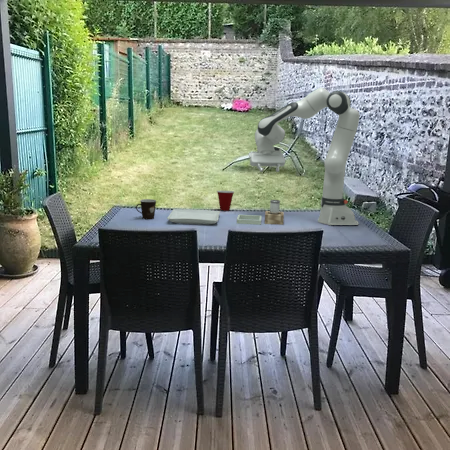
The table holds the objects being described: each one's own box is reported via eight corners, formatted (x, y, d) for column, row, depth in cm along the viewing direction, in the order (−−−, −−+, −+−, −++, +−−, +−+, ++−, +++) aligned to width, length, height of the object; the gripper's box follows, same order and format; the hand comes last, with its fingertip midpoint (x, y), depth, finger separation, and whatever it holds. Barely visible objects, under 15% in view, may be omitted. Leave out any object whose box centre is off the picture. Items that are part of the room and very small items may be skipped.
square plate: (217, 227, 269) (218, 219, 268) (166, 224, 270) (166, 217, 269) (220, 216, 296) (220, 209, 295) (173, 214, 296) (173, 208, 295)
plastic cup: (234, 208, 317) (235, 189, 315) (232, 212, 307) (233, 192, 304) (217, 207, 318) (217, 188, 316) (215, 211, 308) (215, 191, 305)
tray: (261, 221, 284) (261, 215, 284) (260, 226, 272) (261, 220, 271) (238, 220, 285) (238, 214, 285) (236, 225, 273) (236, 219, 272)
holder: (282, 222, 283) (283, 211, 282) (283, 226, 274) (283, 215, 272) (264, 221, 284) (265, 210, 283) (264, 225, 275) (265, 214, 273)
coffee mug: (154, 216, 288) (154, 199, 285) (157, 219, 280) (157, 201, 278) (133, 217, 284) (133, 199, 282) (136, 220, 276) (136, 202, 274)
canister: (278, 221, 281) (279, 200, 278) (278, 223, 276) (280, 201, 273) (269, 220, 281) (270, 199, 279) (269, 222, 276) (270, 201, 274)
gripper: (249, 148, 287) (253, 167, 280) (283, 148, 291) (288, 167, 284) (246, 155, 292) (250, 174, 285) (280, 155, 296) (285, 174, 289)
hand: (269, 171), depth 284 cm, fingers open, 8 cm apart
